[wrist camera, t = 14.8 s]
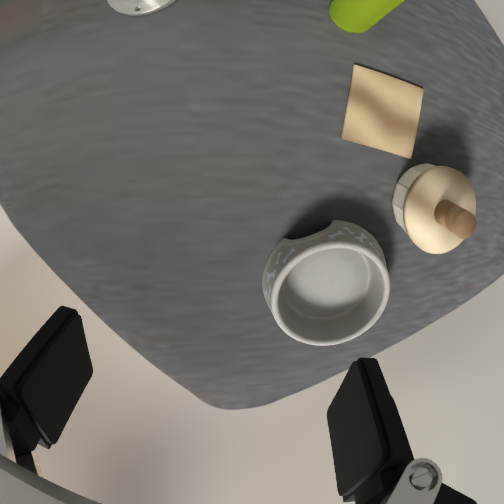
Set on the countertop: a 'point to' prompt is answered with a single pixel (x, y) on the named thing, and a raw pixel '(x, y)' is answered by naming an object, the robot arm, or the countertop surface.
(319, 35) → the countertop surface
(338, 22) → the soap dispenser
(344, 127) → the mat
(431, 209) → the lid
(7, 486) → the robot arm
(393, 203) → the bowl
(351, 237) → the dog bowl
